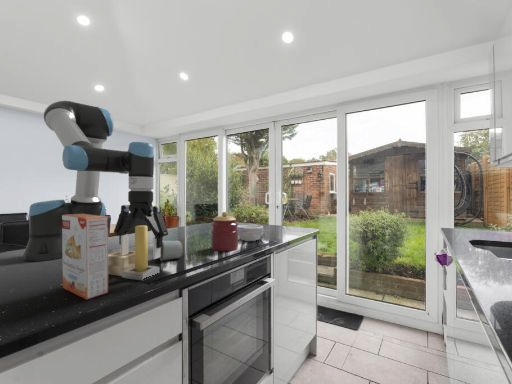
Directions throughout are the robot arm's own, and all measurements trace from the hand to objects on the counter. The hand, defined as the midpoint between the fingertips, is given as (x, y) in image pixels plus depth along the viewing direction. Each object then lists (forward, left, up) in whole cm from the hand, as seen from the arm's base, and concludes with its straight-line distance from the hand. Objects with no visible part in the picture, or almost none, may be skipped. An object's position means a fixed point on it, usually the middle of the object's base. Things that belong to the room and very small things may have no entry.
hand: (140, 256), depth 88 cm
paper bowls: (+13, +72, -6) cm, 73 cm away
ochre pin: (0, 0, -6) cm, 6 cm away
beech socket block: (-9, +2, -6) cm, 11 cm away
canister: (+9, +46, -6) cm, 47 cm away
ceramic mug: (-4, +22, -6) cm, 23 cm away
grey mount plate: (0, 0, -6) cm, 6 cm away
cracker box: (-4, -16, -6) cm, 18 cm away
